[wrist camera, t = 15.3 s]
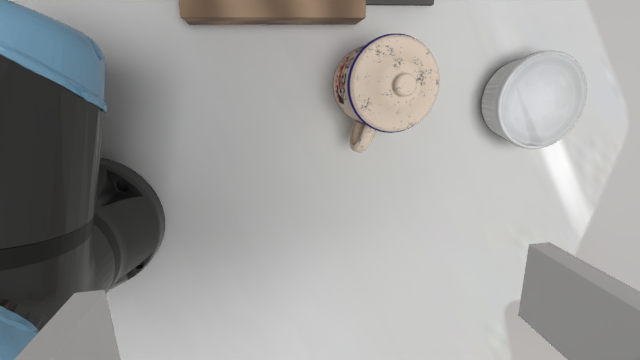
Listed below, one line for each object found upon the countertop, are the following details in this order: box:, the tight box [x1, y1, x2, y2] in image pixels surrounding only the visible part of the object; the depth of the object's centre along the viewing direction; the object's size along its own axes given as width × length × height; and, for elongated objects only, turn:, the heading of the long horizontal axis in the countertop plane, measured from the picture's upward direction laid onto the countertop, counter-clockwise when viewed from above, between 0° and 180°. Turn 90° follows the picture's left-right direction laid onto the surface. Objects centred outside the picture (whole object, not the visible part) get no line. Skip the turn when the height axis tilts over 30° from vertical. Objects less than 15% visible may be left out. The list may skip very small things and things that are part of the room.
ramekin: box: [481, 51, 587, 149], centre depth 42 cm, size 11×11×5 cm
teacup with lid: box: [333, 34, 439, 152], centre depth 35 cm, size 12×9×12 cm
